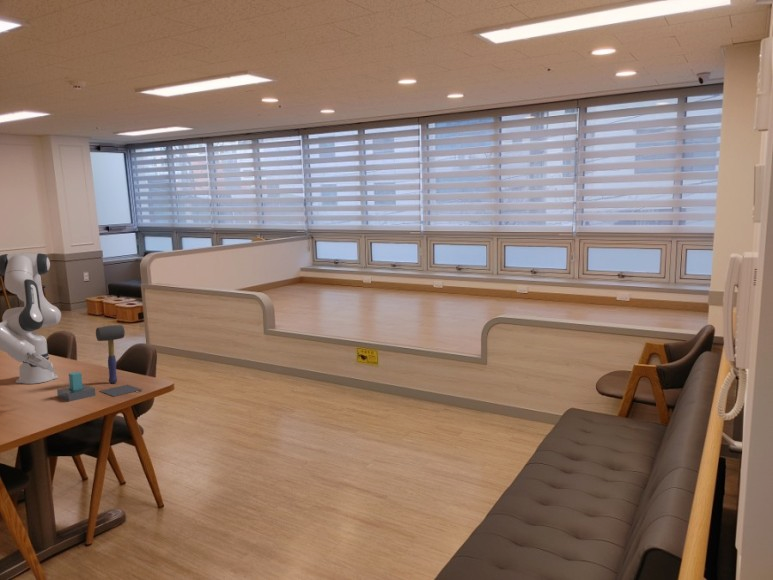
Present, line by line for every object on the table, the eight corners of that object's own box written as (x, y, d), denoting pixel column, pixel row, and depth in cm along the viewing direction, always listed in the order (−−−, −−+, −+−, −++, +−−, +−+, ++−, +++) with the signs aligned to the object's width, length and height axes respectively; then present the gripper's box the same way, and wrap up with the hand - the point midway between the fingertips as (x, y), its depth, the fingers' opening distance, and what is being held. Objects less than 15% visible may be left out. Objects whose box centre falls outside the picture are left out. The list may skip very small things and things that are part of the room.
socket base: (57, 397, 271) (57, 389, 270) (83, 391, 280) (83, 383, 279) (69, 402, 263) (68, 394, 263) (95, 396, 273) (95, 388, 272)
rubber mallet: (123, 379, 301) (120, 323, 298) (128, 382, 296) (125, 325, 292) (98, 384, 293) (94, 326, 290) (102, 387, 288) (98, 328, 284)
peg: (70, 396, 271) (68, 373, 270) (79, 394, 274) (77, 371, 273) (74, 397, 269) (72, 374, 267) (82, 395, 272) (81, 373, 270)
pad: (99, 392, 279) (99, 390, 279) (127, 386, 290) (127, 384, 290) (113, 397, 270) (113, 396, 270) (142, 391, 281) (142, 389, 281)
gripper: (38, 349, 247) (64, 366, 256) (19, 343, 260) (44, 360, 269) (27, 361, 244) (54, 378, 253) (9, 354, 257) (35, 371, 266)
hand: (49, 369), depth 261 cm, fingers open, 8 cm apart
